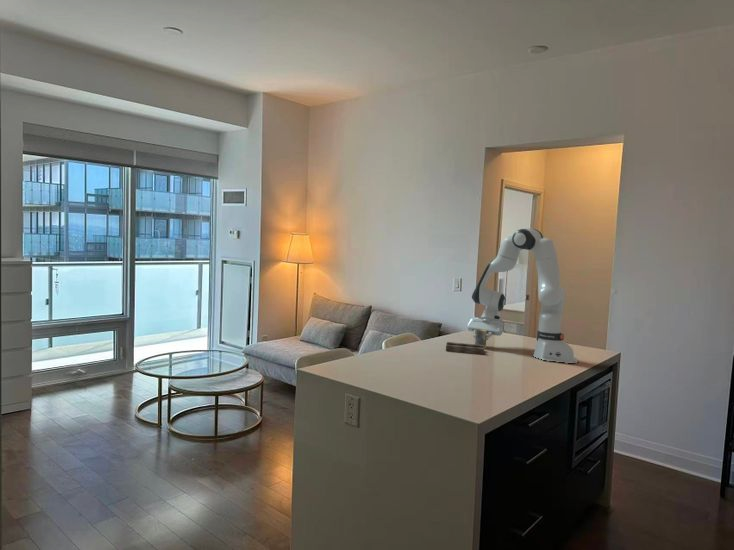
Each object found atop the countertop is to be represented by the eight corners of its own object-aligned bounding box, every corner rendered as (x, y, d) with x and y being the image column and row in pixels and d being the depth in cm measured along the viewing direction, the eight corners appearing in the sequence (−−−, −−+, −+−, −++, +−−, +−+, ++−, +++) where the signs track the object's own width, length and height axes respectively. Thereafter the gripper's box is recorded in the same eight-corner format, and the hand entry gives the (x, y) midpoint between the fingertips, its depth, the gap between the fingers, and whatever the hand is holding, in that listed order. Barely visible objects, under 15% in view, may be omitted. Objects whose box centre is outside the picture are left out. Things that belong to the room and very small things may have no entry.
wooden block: (485, 348, 300) (487, 330, 299) (483, 348, 298) (485, 330, 297) (476, 346, 303) (477, 328, 302) (474, 347, 301) (475, 329, 300)
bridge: (483, 350, 294) (483, 345, 293) (483, 354, 284) (484, 349, 283) (446, 347, 297) (446, 341, 297) (445, 351, 287) (446, 345, 287)
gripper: (470, 313, 311) (462, 332, 303) (504, 317, 299) (496, 337, 292) (473, 320, 315) (465, 338, 307) (506, 325, 303) (498, 344, 296)
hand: (480, 338), depth 299 cm, fingers closed on wooden block, 5 cm apart
